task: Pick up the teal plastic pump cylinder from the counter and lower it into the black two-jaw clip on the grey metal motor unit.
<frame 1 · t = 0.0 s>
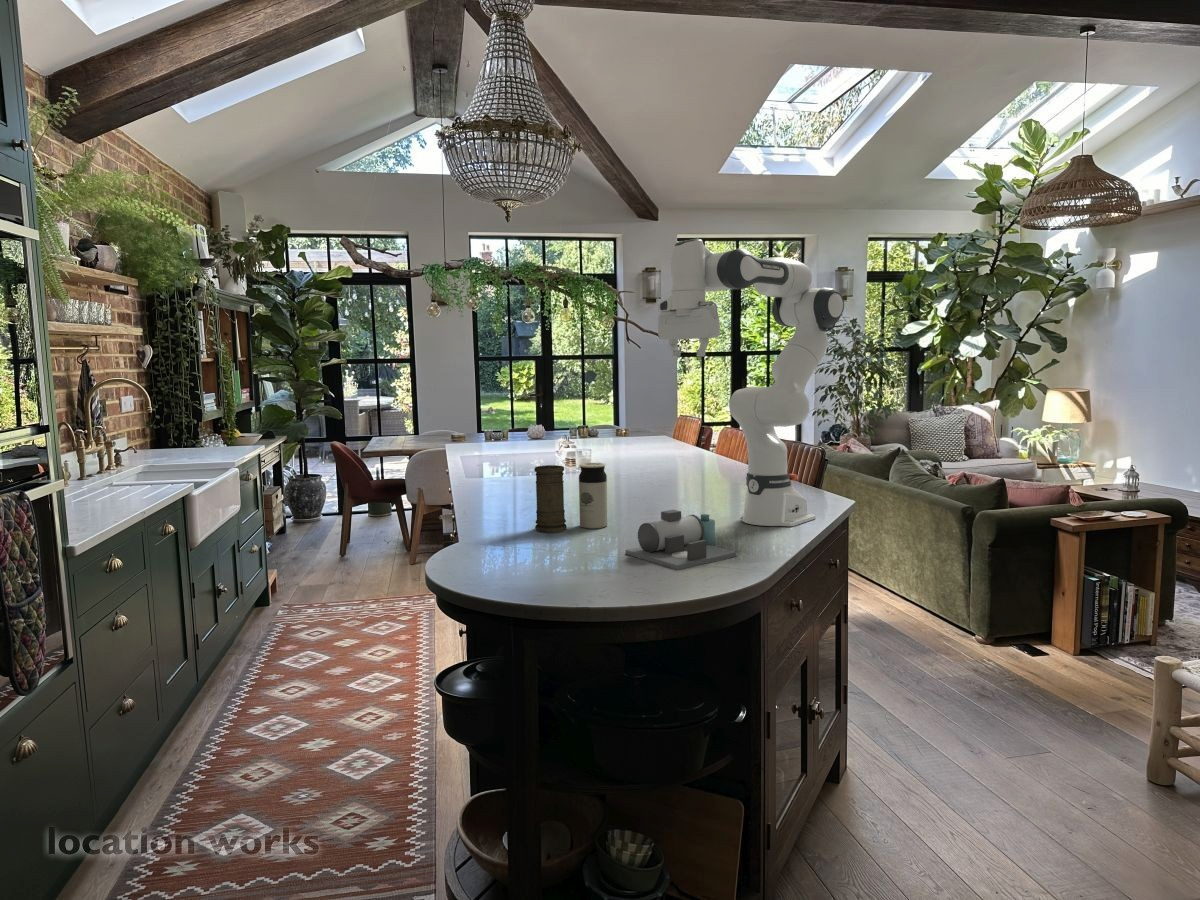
hand: (688, 356, 205), 48 cm above the counter, fingers open, 8 cm apart
container: (551, 530, 223), on the counter
travel mug: (593, 526, 227), on the counter
motor unit: (680, 555, 192), on the counter
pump: (705, 543, 203), on the counter
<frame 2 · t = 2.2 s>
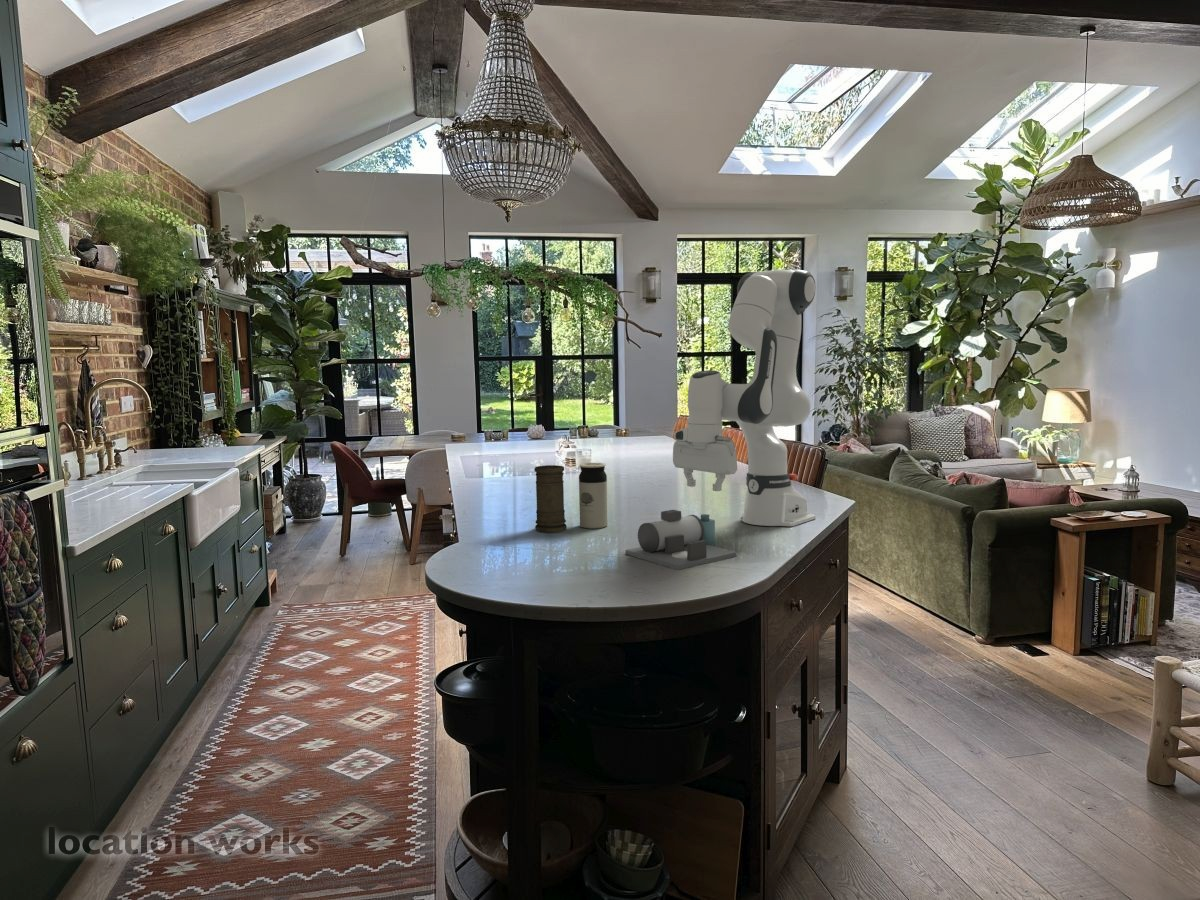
hand: (703, 488, 201), 14 cm above the counter, fingers open, 8 cm apart
nothing on the counter moved.
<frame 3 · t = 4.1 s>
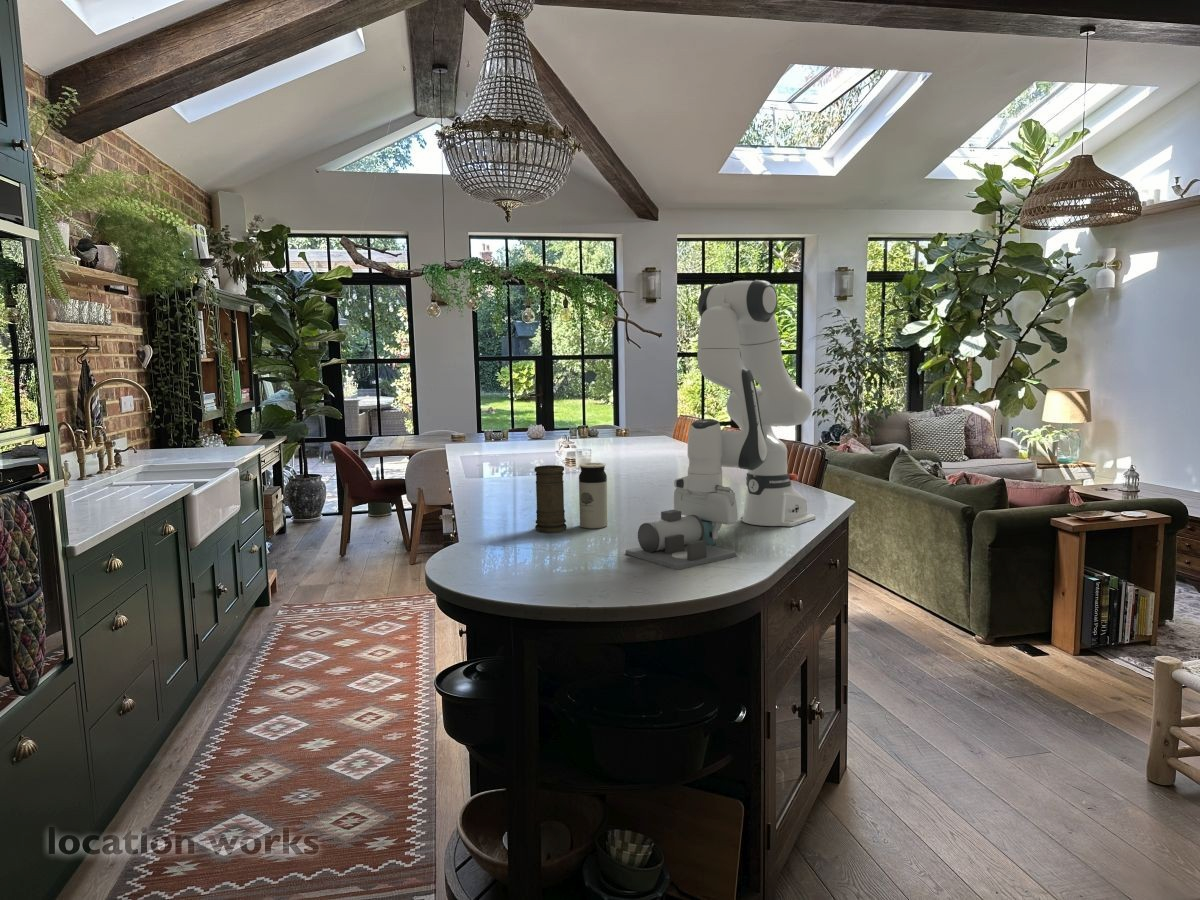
hand: (705, 536, 203), 2 cm above the counter, fingers closed on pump, 5 cm apart
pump: (704, 543, 203), on the counter, touching gripper
everything else where it was.
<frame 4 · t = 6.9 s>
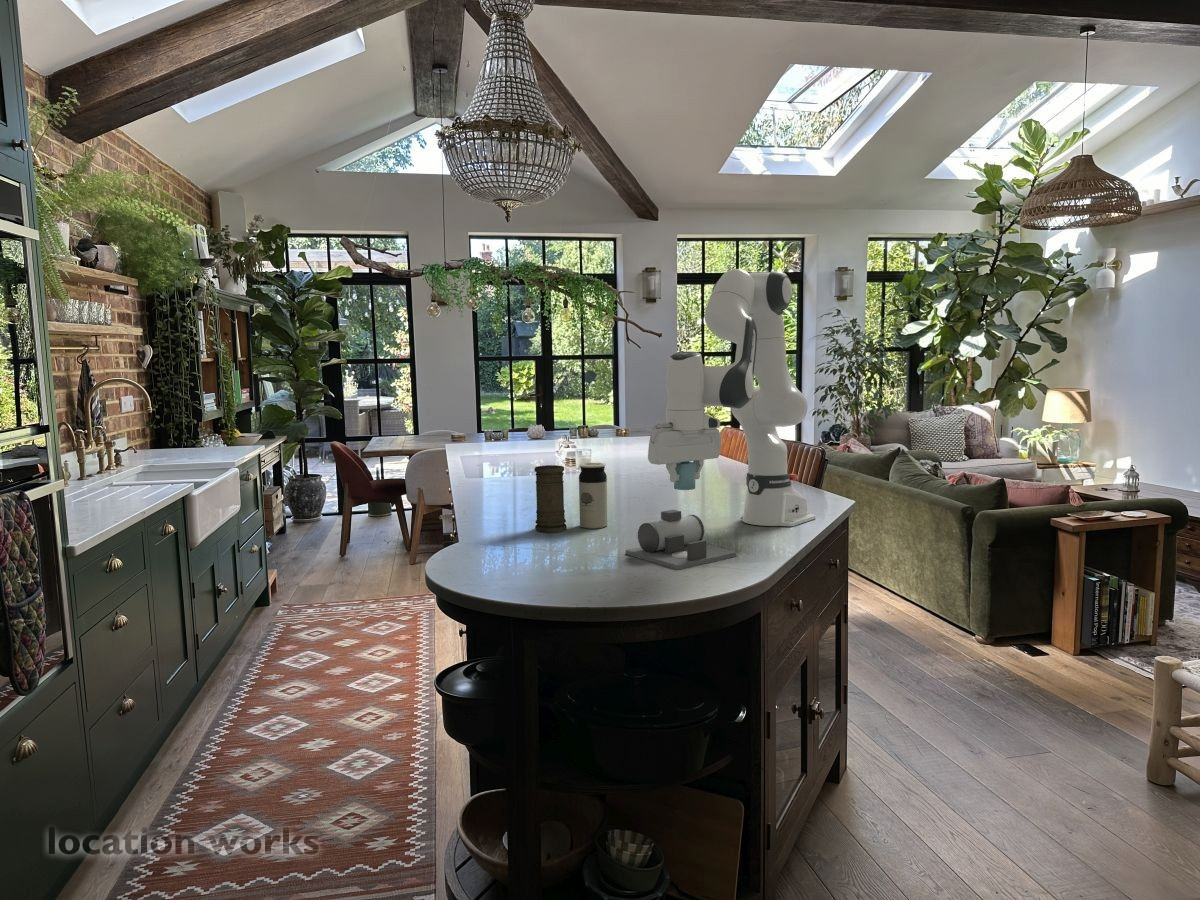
hand: (684, 480, 185), 19 cm above the counter, fingers closed on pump, 5 cm apart
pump: (684, 488, 185), point 17 cm above the counter, touching gripper
everything else where it was.
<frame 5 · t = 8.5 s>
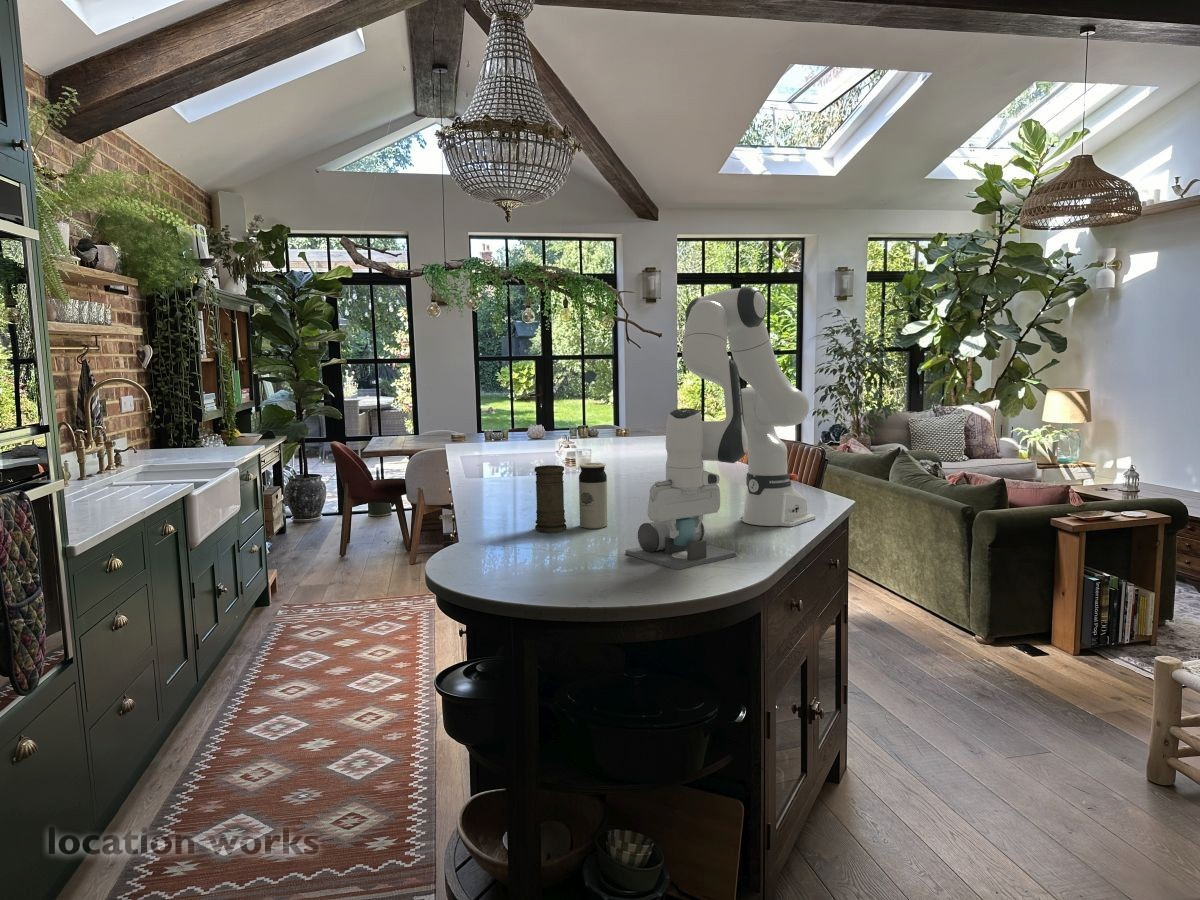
hand: (684, 535, 187), 6 cm above the counter, fingers closed on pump, 5 cm apart
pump: (684, 543, 187), point 4 cm above the counter, touching gripper
everything else where it was.
when the fingers open (4 cm above the counter, at t = 9.6 s): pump stays where it is, resting on motor unit.
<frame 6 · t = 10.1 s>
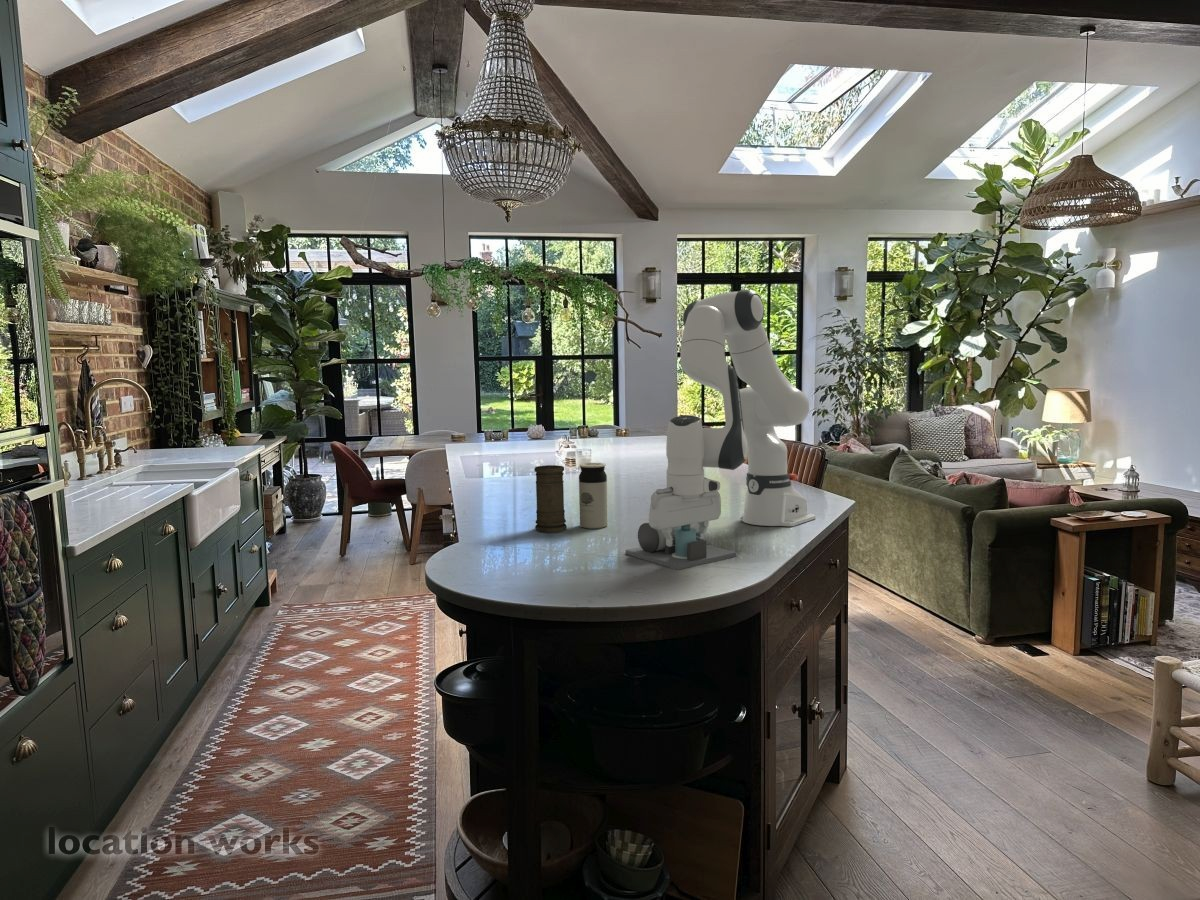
hand: (685, 542, 187), 4 cm above the counter, fingers open, 8 cm apart
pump: (685, 554, 187), point 1 cm above the counter, touching motor unit
everything else where it was.
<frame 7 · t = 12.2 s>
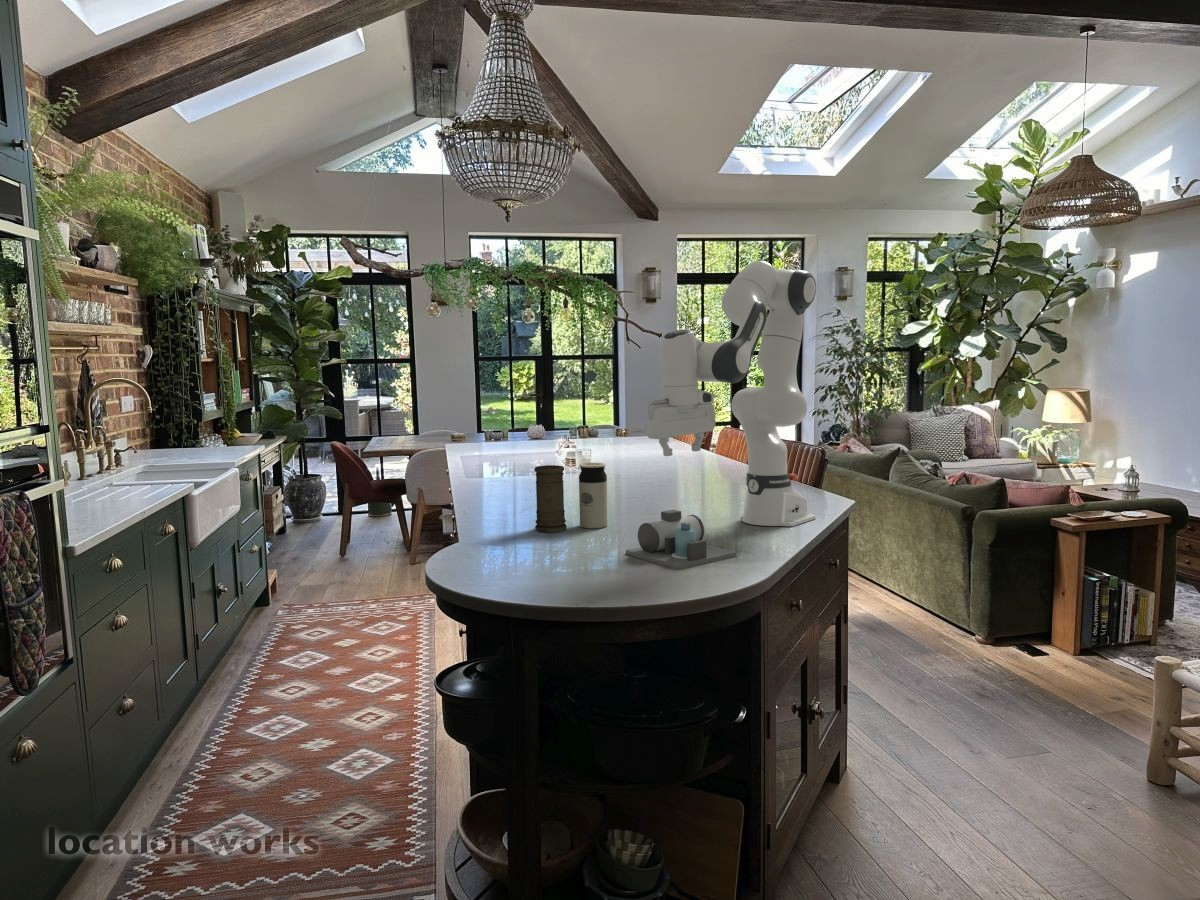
hand: (682, 453, 194), 24 cm above the counter, fingers open, 8 cm apart
nothing on the counter moved.
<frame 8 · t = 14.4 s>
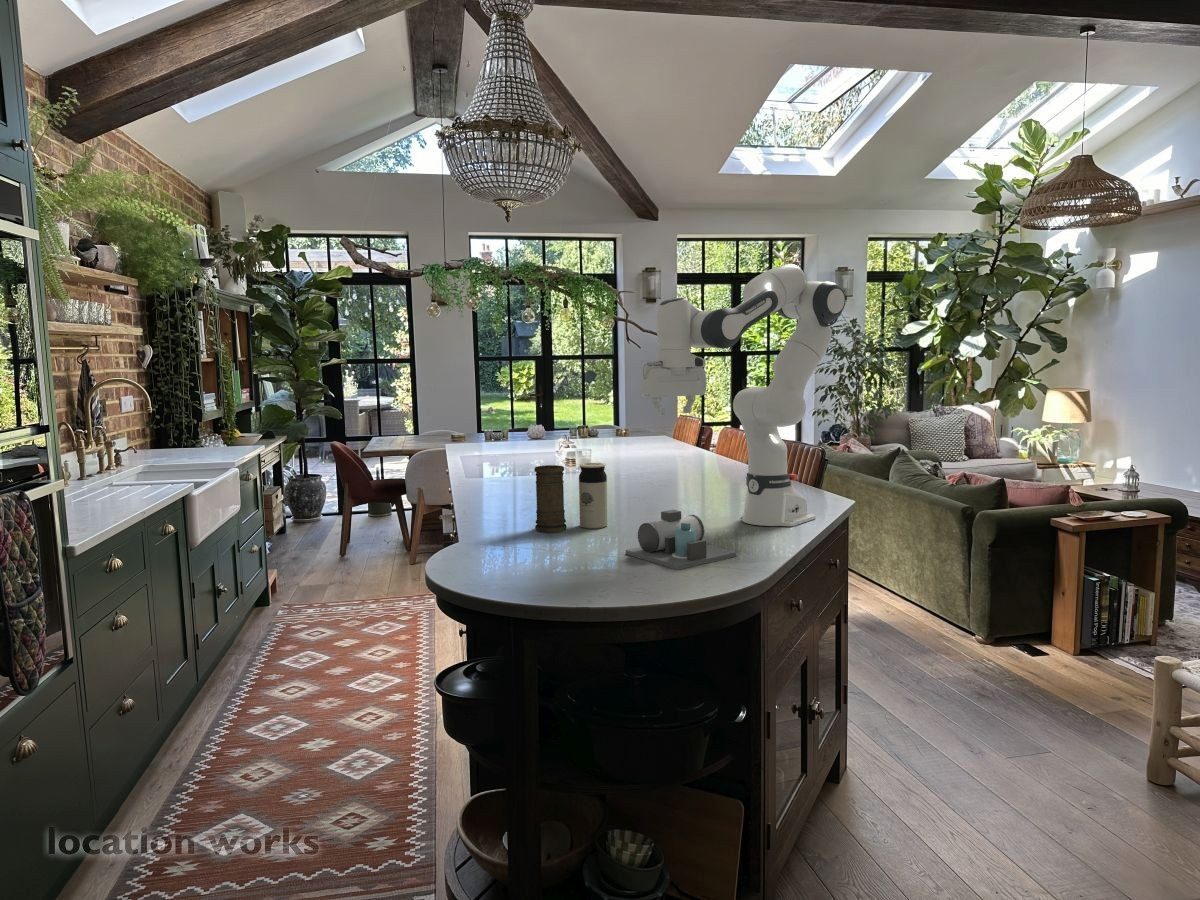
hand: (674, 414, 207), 33 cm above the counter, fingers open, 8 cm apart
nothing on the counter moved.
at the end: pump 0.2 cm from the target spot on the motor unit, point 1.2 cm above the motor unit's base; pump tilted 0°; the gripper is holding nothing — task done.
